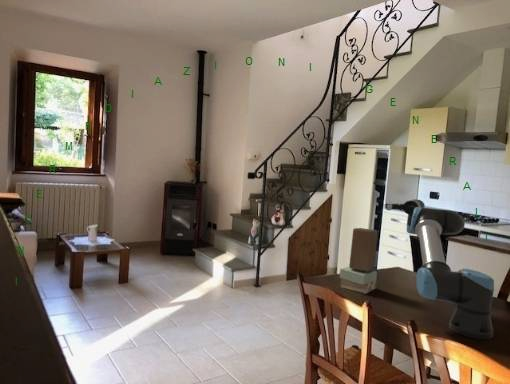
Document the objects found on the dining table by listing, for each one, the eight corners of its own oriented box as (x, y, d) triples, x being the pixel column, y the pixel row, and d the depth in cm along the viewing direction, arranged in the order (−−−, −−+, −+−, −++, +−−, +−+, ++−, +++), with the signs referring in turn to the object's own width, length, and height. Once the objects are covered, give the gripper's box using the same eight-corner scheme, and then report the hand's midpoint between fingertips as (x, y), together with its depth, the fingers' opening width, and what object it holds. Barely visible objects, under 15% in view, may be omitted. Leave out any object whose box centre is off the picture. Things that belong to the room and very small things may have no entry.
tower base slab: (365, 294, 197) (366, 285, 196) (340, 287, 205) (341, 278, 204) (375, 288, 207) (376, 280, 207) (351, 282, 215) (352, 274, 215)
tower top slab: (363, 284, 197) (364, 275, 196) (339, 277, 206) (340, 268, 205) (376, 280, 206) (376, 271, 206) (353, 273, 215) (353, 265, 215)
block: (368, 272, 199) (372, 230, 199) (348, 268, 204) (352, 228, 204) (374, 270, 207) (378, 230, 207) (355, 266, 213) (359, 227, 213)
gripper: (389, 197, 232) (377, 199, 215) (436, 203, 218) (428, 205, 201) (388, 210, 233) (375, 213, 215) (435, 217, 219) (426, 220, 201)
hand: (401, 209), depth 208 cm, fingers open, 13 cm apart
